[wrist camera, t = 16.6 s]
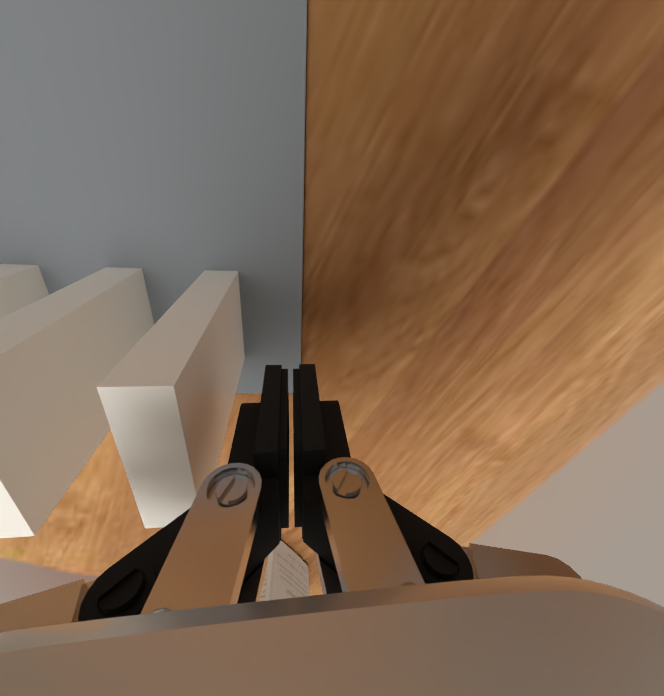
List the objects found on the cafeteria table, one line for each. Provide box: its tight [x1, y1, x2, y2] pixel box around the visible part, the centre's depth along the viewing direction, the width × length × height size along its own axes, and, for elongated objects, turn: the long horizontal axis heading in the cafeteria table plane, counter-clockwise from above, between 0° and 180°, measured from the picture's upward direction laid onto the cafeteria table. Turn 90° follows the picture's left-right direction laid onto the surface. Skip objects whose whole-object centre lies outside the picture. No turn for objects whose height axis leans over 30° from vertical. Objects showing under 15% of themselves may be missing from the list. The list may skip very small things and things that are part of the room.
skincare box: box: [260, 541, 309, 601], centre depth 23 cm, size 6×4×12 cm
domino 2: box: [97, 270, 245, 528], centre depth 13 cm, size 2×5×10 cm, turn 177°
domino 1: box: [0, 267, 154, 538], centre depth 12 cm, size 2×5×10 cm, turn 177°
